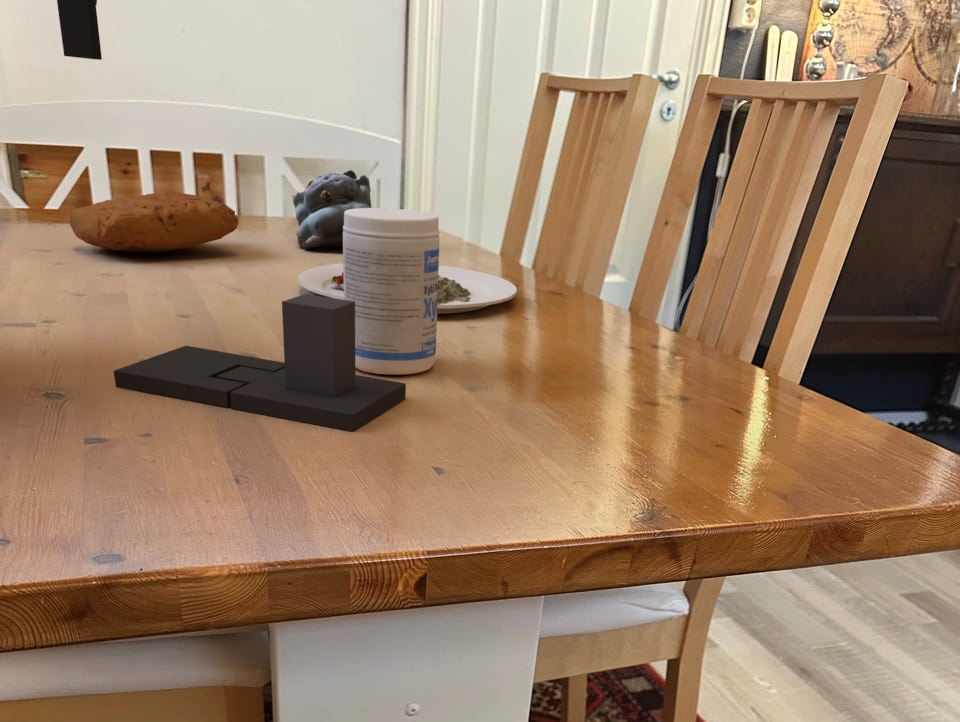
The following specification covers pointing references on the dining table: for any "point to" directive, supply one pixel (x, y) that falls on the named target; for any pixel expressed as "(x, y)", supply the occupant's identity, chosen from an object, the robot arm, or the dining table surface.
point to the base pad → (190, 374)
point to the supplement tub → (392, 287)
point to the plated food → (454, 287)
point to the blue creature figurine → (328, 207)
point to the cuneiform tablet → (153, 222)
